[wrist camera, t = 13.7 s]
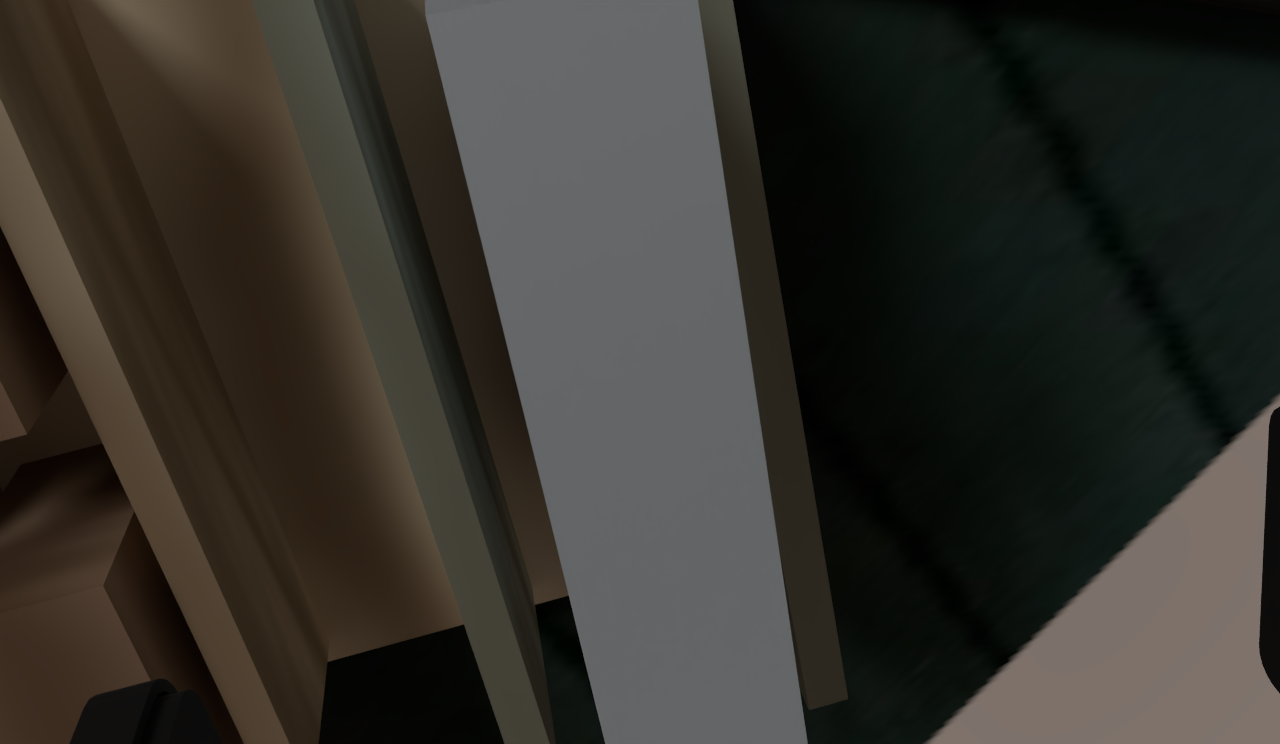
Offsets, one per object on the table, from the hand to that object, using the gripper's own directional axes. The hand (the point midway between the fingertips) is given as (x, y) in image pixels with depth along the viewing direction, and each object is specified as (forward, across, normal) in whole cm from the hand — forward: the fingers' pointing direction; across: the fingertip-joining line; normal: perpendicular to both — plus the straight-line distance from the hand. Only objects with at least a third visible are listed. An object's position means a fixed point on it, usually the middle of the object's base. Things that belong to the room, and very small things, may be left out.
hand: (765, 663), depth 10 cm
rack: (+17, +6, +2) cm, 19 cm away
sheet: (+16, +1, +1) cm, 16 cm away
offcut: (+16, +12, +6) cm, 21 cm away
